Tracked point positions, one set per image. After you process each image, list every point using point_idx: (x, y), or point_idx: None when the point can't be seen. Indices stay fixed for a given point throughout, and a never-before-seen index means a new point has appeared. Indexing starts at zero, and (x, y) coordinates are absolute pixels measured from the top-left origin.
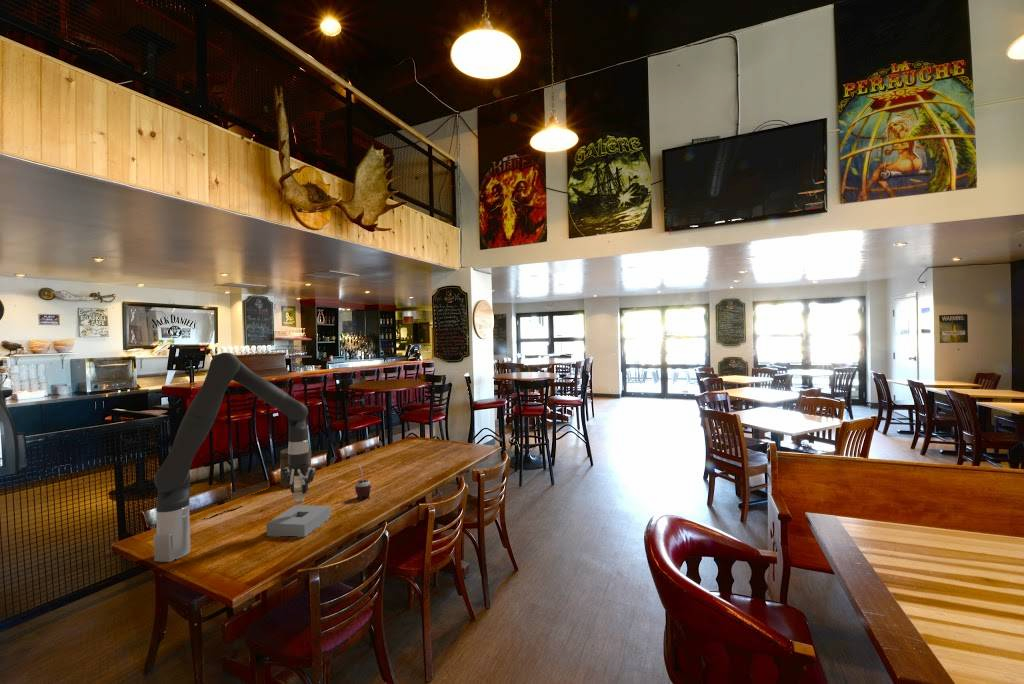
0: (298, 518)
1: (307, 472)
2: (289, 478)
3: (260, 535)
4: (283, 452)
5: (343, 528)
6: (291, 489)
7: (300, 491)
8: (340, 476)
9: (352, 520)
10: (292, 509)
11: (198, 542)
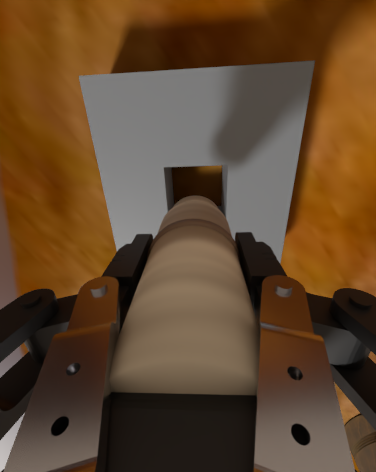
0: (170, 151)
1: (367, 467)
2: (357, 366)
3: (321, 75)
4: None
5: (27, 188)
6: (263, 252)
7: (158, 234)
8: None
9: (50, 247)
10: (265, 240)
11: None
